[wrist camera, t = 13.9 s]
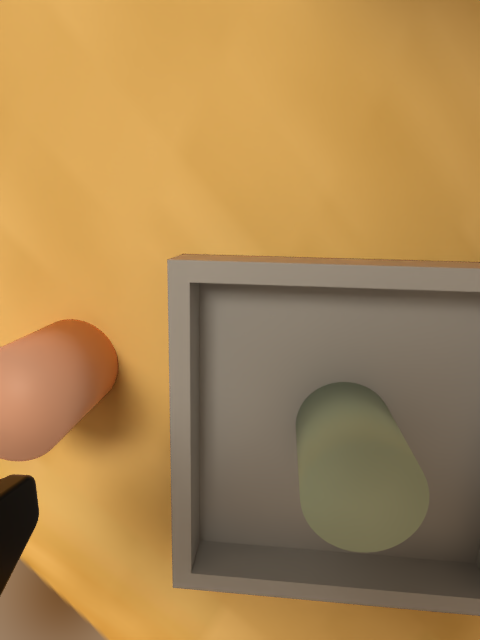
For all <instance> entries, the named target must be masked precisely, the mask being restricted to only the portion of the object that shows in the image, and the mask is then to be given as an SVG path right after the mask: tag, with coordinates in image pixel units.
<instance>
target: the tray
mask: <svg viewBox="0 0 480 640" xmlns="http://www.w3.org/2000/svg"><path fill="white" fill-rule="evenodd" d="M168 321H169V383H170V445H171V507H172V569H173V588H183V589H194V590H204V591H215V592H226V593H237V594H248V595H259V596H270V597H281V598H292V599H303V600H313V601H324V602H335V603H346V604H357V605H368V606H379V607H390V608H401V609H412V610H422V611H433V612H444V613H455V614H466V615H477V616H480V262H454V261H418V260H381V259H345V258H309V257H272V256H236V255H200V254H182V255H179V256H176V257H173V258H171V259H168ZM336 382H351V383H356V384H360V385H363V386H365V387H367V388H369V389H371V390H372V391H374V392H375V393H376V394H377V395H379V396H380V397H381V399H382V400H383V401H384V403H385V404H386V406H387V407H388V409H389V411H390V413H391V415H392V417H393V418H394V420H395V422H396V424H397V426H398V427H399V429H400V431H401V433H402V435H403V437H404V438H405V440H406V442H407V444H408V446H409V447H410V449H411V451H412V453H413V455H414V457H415V458H416V460H417V462H418V464H419V466H420V467H421V469H422V471H423V473H424V475H425V477H426V480H427V483H428V487H429V505H428V510H427V513H426V516H425V518H424V520H423V522H422V524H421V525H420V526H419V528H418V529H417V530H416V531H415V532H414V533H413V534H412V535H411V536H410V537H409V538H408V539H406V540H405V541H403V542H402V543H400V544H398V545H396V546H394V547H392V548H389V549H386V550H382V551H377V552H368V553H364V552H353V551H348V550H344V549H341V548H338V547H336V546H334V545H332V544H330V543H328V542H326V541H325V540H323V539H322V538H321V537H320V536H318V535H317V534H316V533H315V532H314V531H313V529H312V528H311V527H310V526H309V524H308V523H307V521H306V519H305V517H304V515H303V512H302V509H301V503H300V492H299V475H298V458H297V441H296V418H297V414H298V411H299V409H300V407H301V405H302V403H303V402H304V401H305V399H306V398H307V397H308V396H309V395H310V394H311V393H313V392H314V391H315V390H317V389H319V388H320V387H322V386H325V385H327V384H331V383H336Z"/></svg>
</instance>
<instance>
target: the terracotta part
mask: <svg viewBox="0 0 480 640" xmlns="http://www.w3.org/2000/svg"><path fill="white" fill-rule="evenodd" d="M117 374H118V359H117V355H116V352H115V349H114V347H113V345H112V343H111V342H110V340H109V339H108V338H107V336H106V335H105V334H104V333H103V332H102V331H100V330H99V329H98V328H96V327H95V326H93V325H91V324H89V323H87V322H84V321H80V320H73V319H69V320H61V321H58V322H55V323H53V324H51V325H48V326H46V327H44V328H42V329H40V330H37V331H35V332H33V333H31V334H29V335H26V336H24V337H22V338H20V339H18V340H16V341H13V342H11V343H9V344H7V345H5V346H2V347H0V458H1V459H5V460H10V461H27V460H32V459H36V458H38V457H40V456H42V455H44V454H46V453H47V452H48V451H50V450H51V449H52V448H53V447H54V446H55V445H56V444H57V443H58V442H59V441H60V440H61V439H62V438H63V437H64V436H65V435H66V434H67V433H68V432H69V431H70V430H71V429H72V428H73V427H74V426H75V425H76V424H77V423H78V422H79V421H80V420H81V419H82V418H83V417H84V416H85V415H86V414H87V413H88V412H89V411H90V410H91V409H92V408H93V407H94V406H95V405H96V404H97V403H98V402H99V401H100V400H101V399H102V398H103V397H104V396H105V395H106V394H107V393H108V392H109V391H110V390H111V388H112V387H113V385H114V383H115V381H116V378H117Z"/></svg>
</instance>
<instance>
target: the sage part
mask: <svg viewBox="0 0 480 640" xmlns="http://www.w3.org/2000/svg"><path fill="white" fill-rule="evenodd" d="M296 441H297V458H298V475H299V492H300V503H301V509H302V512H303V515H304V517H305V519H306V521H307V523H308V524H309V526H310V527H311V528H312V529H313V531H314V532H315V533H316V534H317V535H318V536H320V537H321V538H322V539H323V540H325V541H326V542H328V543H330V544H332V545H334V546H336V547H338V548H341V549H344V550H348V551H353V552H364V553H368V552H377V551H382V550H386V549H389V548H392V547H394V546H396V545H398V544H400V543H402V542H403V541H405V540H406V539H408V538H409V537H410V536H411V535H412V534H413V533H414V532H415V531H416V530H417V529H418V528H419V526H420V525H421V524H422V522H423V520H424V518H425V516H426V513H427V510H428V505H429V487H428V483H427V480H426V477H425V475H424V473H423V471H422V469H421V467H420V466H419V464H418V462H417V460H416V458H415V457H414V455H413V453H412V451H411V449H410V447H409V446H408V444H407V442H406V440H405V438H404V437H403V435H402V433H401V431H400V429H399V427H398V426H397V424H396V422H395V420H394V418H393V417H392V415H391V413H390V411H389V409H388V407H387V406H386V404H385V403H384V401H383V400H382V399H381V397H380V396H379V395H377V394H376V393H375V392H374V391H372V390H371V389H369V388H367V387H365V386H363V385H360V384H356V383H351V382H336V383H331V384H327V385H325V386H322V387H320V388H319V389H317V390H315V391H314V392H313V393H311V394H310V395H309V396H308V397H307V398H306V399H305V401H304V402H303V403H302V405H301V407H300V409H299V411H298V414H297V418H296Z"/></svg>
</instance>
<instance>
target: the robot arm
mask: <svg viewBox="0 0 480 640" xmlns="http://www.w3.org/2000/svg"><path fill="white" fill-rule="evenodd" d="M38 517H39V508H38V499H37V491H36V483H35V480H34V478H33V477H32V476H30V475H15V474H14V475H9V476H7V477H5V478H2V479H0V595H1V593H2V592H3V590H4V588H5V586H6V584H7V582H8V580H9V578H10V576H11V574H12V572H13V570H14V568H15V566H16V564H17V562H18V560H19V558H20V556H21V554H22V552H23V550H24V548H25V546H26V544H27V542H28V540H29V538H30V536H31V534H32V532H33V530H34V528H35V526H36V524H37V521H38Z"/></svg>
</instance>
